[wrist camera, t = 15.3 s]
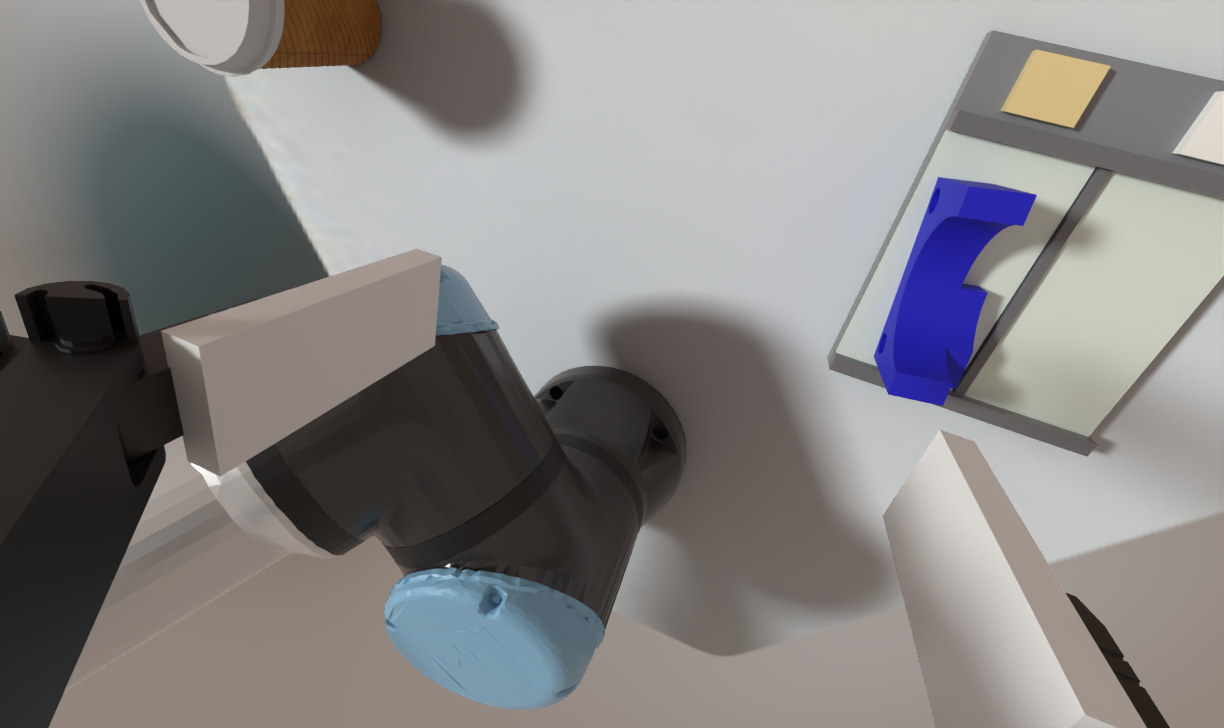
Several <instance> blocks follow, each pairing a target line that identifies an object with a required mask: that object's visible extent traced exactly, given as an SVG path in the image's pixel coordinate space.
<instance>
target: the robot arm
mask: <svg viewBox="0 0 1224 728" xmlns="http://www.w3.org/2000/svg"><path fill="white" fill-rule="evenodd" d="M441 260H442V257H440V256H437V255H434V254H431V253H428V252H425V251H422V250H419V249H415V250H412V251H409V252H406V253H403V254H399V255H396V256H393V257H390V258H387V259H384V260H381V261H378V262H375V263H371V264H368V265H365V266H362V267H359V268H356V269H353V270H350V271H346V272H343V273H340V274H337V275H334V276H331V277H328V278H325V279H321V280H318V281H315V282H312V283H309V284H306V285H303V286H300V287H297V288H293V289H290V290H287V291H284V292H281V293H278V294H275V295H272V296H268V297H265V298H260V299H254V300H251V301H247V302H244V303H241V304H238V305H235V306H232V307H231V309H228V308H226V309H222V310H219V311H216V312H213V313H212V314H211V315H203V316H200V317H197V318H194V319H191V320H188V321H184V322H181V323H178V324H175V325H172V326H169V327H165V328H162V329H159V330H156V331H153V332H150V333H146V334H143V335H140V336H139V333H138V329H137V325H136V320H135V316H134V311H133V307H132V302H131V298H130V294H129V293H128V292H127V291H126V290H125V289H124V288H122V287H119V286H116V285H113V284H110V283H103V282H94V281H65V282H56V283H48V284H43V285H39V286H35V287H31V288H27V289H25V290H23V291H21V292H19V293H17V294H16V295H15V298H16V301H17V304H18V307H19V310H20V313H21V316H22V319H23V322H24V324H25V328H26V330H27V333H28V336H29V338H25V337H19V336H13V335H9V332H8V329H7V327H6V324H5V321H4V318H3V316H2V313H1V311H0V728H48V727H49V725H50V723H51V720H52V718H53V715H54V713H55V711H56V709H57V707H58V704H59V702H60V700H61V698H62V695H63V693H64V692H65V691H67V690H68V689H70V688H72V687H73V686H75V685H77V684H78V683H80V682H82V681H83V680H85V679H86V678H88V677H90V676H91V675H93V674H95V673H96V672H98V671H100V670H101V669H103V668H104V667H106V666H108V665H109V664H111V663H112V662H114V661H116V660H118V659H119V658H121V657H122V656H124V655H126V654H127V653H129V652H131V651H132V650H134V649H135V648H137V647H138V646H140V645H142V644H144V643H145V642H147V641H148V640H150V639H152V638H153V637H155V636H156V635H158V634H160V633H162V632H163V631H165V630H166V629H168V628H169V627H171V626H173V625H174V624H176V623H178V622H179V621H181V620H182V619H184V618H186V617H188V616H189V615H191V614H193V613H194V612H196V611H197V610H199V609H201V608H202V607H204V606H206V605H207V604H209V603H210V602H212V601H214V600H215V599H217V598H219V597H220V596H222V595H223V594H225V593H227V592H228V591H230V590H232V589H233V588H235V587H237V586H238V585H240V584H241V583H243V582H245V581H246V580H248V579H250V578H251V577H252V576H254V575H256V574H258V573H259V572H261V571H262V570H264V569H266V568H268V567H269V566H271V565H272V564H274V563H276V562H277V561H279V560H281V559H282V558H284V557H285V556H287V555H289V554H304V555H309V556H315V557H321V558H327V559H334V558H337V557H339V556H341V555H343V554H345V553H346V552H348V551H349V550H351V549H352V548H354V547H356V546H357V545H359V544H361V543H362V542H364V541H365V540H367V539H369V538H370V537H372V536H376V537H377V538H378V539H379V540H380V541H381V542H382V544H383V545H384V546H385V547H386V549H387V550H388V552H389V553H390V555H391V556H392V558H393V559H394V560H395V562H396V564H397V565H398V566H399V568H400V570H401V571H402V573H403V576H404V578H402V579H400V580H399V581H398V582H397V583H396V584H395V585H394V586H393V587H392V590H391V591H390V597H389V599H388V600H387V603H386V605H385V608H384V616H385V618H386V619H385V628H386V631H387V633H388V635H389V638H390V639H391V641H392V643H393V644H394V646H395V647H396V649H397V650H398V651H399V652H400V653H401V655H402V656H403V657H404V658H405V659H406V660H407V661H408V662H409V663H410V664H412V665H413V666H414V667H415V668H416V669H417V670H418V671H420V672H421V673H422V674H424V675H425V676H426V677H428V678H430V679H431V680H433V681H434V682H436V683H437V684H439V685H441V686H443V687H444V688H446V689H448V690H450V691H452V692H454V693H456V694H458V695H461V696H464V697H467V698H468V699H471V700H473V701H476V702H479V703H483V704H486V705H490V706H495V707H500V708H507V709H518V710H526V709H536V708H543V707H546V706H550V705H552V704H555V703H557V702H559V701H561V700H563V699H564V698H566V697H567V696H568V695H570V694H571V693H572V692H573V691H574V690H575V689H576V687H577V685H579V684H580V682H581V680H582V678H583V676H584V674H585V672H586V670H587V667H588V665H589V663H590V661H591V658H592V656H593V654H594V651H595V649H596V648H597V647H598V646H599V644H600V643H601V642H602V641H603V638H604V634H605V628H606V625H607V622H608V619H609V617H610V614H611V611H612V608H613V605H614V602H615V599H616V596H617V593H618V591H619V588H620V585H621V582H622V579H623V576H624V573H625V570H626V567H627V565H628V562H629V559H630V556H631V553H632V550H633V547H634V544H635V541H636V538H637V535H638V532H639V530H640V528H641V527H642V526H643V525H644V524H645V523H646V522H647V521H648V520H649V519H650V518H651V517H652V516H653V515H654V514H655V513H656V512H657V511H658V510H660V509H661V508H662V507H663V506H664V505H665V504H666V503H667V501H668V500H669V499H670V498H671V496H672V495H673V493H674V491H675V490H676V488H677V486H678V483H679V480H680V477H681V474H682V471H683V468H684V464H685V458H686V442H685V437H684V432H683V429H682V426H681V424H680V421H679V419H678V417H677V416H676V414H675V412H674V410H673V409H672V408H671V406H670V405H669V404H668V402H667V401H666V400H665V399H664V398H663V397H662V396H661V395H660V394H659V393H658V392H657V391H656V390H655V389H654V388H653V387H651V386H650V385H649V384H647V383H646V382H644V381H643V380H641V379H639V378H637V377H635V376H633V375H631V374H629V373H626V372H624V371H621V370H618V369H614V368H609V367H602V366H584V367H577V368H573V369H570V370H567V371H564V372H562V373H560V374H558V375H557V376H555V377H554V378H552V379H551V380H550V381H548V382H547V383H546V384H545V385H544V386H543V387H542V388H541V389H540V391H539V392H538V393H537V394H536V395H535V396H534V397H533V395H532V393H531V391H530V390H529V388H528V386H527V384H526V383H525V381H524V379H523V377H522V375H521V374H520V372H519V370H518V368H517V367H516V365H515V363H514V361H513V359H512V358H511V356H510V354H509V352H508V350H507V348H506V347H505V345H504V343H503V341H502V339H501V337H500V336H499V334H498V332H497V330H496V329H499V326H498V324H497V322H495V321H493V320H491V318H490V317H489V315H488V314H487V312H486V310H485V309H484V307H483V306H482V304H481V302H480V301H479V299H478V298H477V296H476V295H475V293H474V291H473V290H472V288H471V287H470V285H469V283H468V282H467V280H466V279H465V278H464V277H463V276H462V275H461V274H460V273H459V272H457V271H456V270H454V269H453V268H450V267H448V266H445V265H441ZM883 518H884V522H885V526H886V530H887V534H888V538H889V542H890V546H891V550H892V554H893V558H894V562H895V566H896V570H897V574H898V578H899V582H900V586H901V590H902V594H903V598H904V602H905V606H906V610H907V613H908V618H909V622H910V626H911V630H912V634H913V638H914V642H915V646H916V650H917V654H918V658H919V662H920V665H921V670H922V674H923V678H924V682H925V686H926V689H927V694H928V698H929V702H930V706H931V710H932V714H933V718H934V722H935V726H936V728H1170V727H1169V726H1168V724H1167V723H1166V721H1165V719H1164V718H1163V716H1162V715H1161V713H1160V712H1159V710H1158V708H1157V707H1156V705H1155V704H1154V702H1153V701H1152V699H1151V697H1150V696H1149V694H1148V693H1147V691H1146V690H1145V689H1144V688H1143V687H1140V686H1139V682H1140V680H1139V679H1138V678H1137V676H1136V674H1135V673H1134V671H1133V669H1132V668H1131V666H1130V665H1129V663H1128V662H1126V661H1123V657H1124V656H1123V654H1122V652H1121V651H1120V649H1119V648H1118V646H1117V644H1116V643H1115V641H1114V640H1113V638H1112V637H1111V635H1110V634H1109V632H1108V631H1107V629H1106V627H1105V626H1104V625H1103V624H1102V623H1101V622H1100V621H1099V620H1098V619H1097V618H1096V617H1095V616H1094V615H1093V614H1092V613H1091V612H1090V611H1089V609H1088V608H1087V607H1086V606H1085V605H1084V604H1082V602H1081V601H1080V600H1079V599H1078V598H1077V597H1075V596H1073V595H1070V594H1068V593H1065V591H1064V590H1063V588H1062V586H1061V585H1060V583H1059V581H1058V580H1057V578H1056V576H1055V575H1054V573H1053V571H1052V570H1051V568H1050V566H1049V565H1048V563H1047V561H1046V560H1045V558H1044V556H1043V555H1042V553H1041V551H1040V550H1039V548H1038V546H1037V545H1036V543H1035V541H1034V540H1033V538H1032V536H1031V535H1030V533H1029V531H1028V530H1027V528H1026V526H1025V525H1024V523H1023V521H1022V520H1021V518H1020V516H1019V515H1018V513H1017V512H1016V510H1015V508H1014V507H1013V505H1012V503H1011V502H1010V500H1009V498H1008V497H1007V495H1006V493H1005V492H1004V490H1003V488H1002V487H1001V485H1000V483H999V482H998V480H997V478H996V477H995V475H994V473H993V472H992V470H991V468H990V467H989V465H988V463H987V462H986V460H985V458H984V457H983V455H982V453H981V452H980V450H979V448H978V447H977V445H976V444H975V442H974V441H971V440H968V439H965V438H962V437H960V436H957V435H954V434H951V433H948V432H945V431H942V430H939V431H938V433H937V434H936V436H935V438H934V439H933V441H932V442H931V444H930V445H929V447H928V448H927V450H926V451H925V453H924V454H923V456H922V457H921V459H920V460H919V462H918V463H917V465H916V466H915V468H914V469H913V471H912V472H911V474H910V475H909V477H908V478H907V480H906V481H905V483H904V484H903V486H902V487H901V489H900V490H899V492H898V494H897V495H896V497H895V498H894V500H893V501H892V503H891V504H890V506H889V507H888V509H887V510H886V512H885V513H884V515H883Z"/></svg>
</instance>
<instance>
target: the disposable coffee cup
mask: <svg viewBox="0 0 1224 728" xmlns="http://www.w3.org/2000/svg"><path fill="white" fill-rule="evenodd" d="M140 2H141V4H142V6H143V8H144V10H145V12H146V14H147V16H148V18H149V20H150V21H151V23H152V24H153V25H154V27H155V28H156V30H157V31H158V33H159V34H160V35H161V37H162V38H163V39H164V40H165V41H166V42H167V43H168V44H169V45H170V46H171V47H172V48H173V49H174V50H176V51H177V52H178V53H179V54H181V55H182V56H184V57H186V58H187V59H189V60H191V61H194V62H197V63H198V64H199V65H201V66H203V67H204V68H206V69H208V70H210V71H212V72H214V73H217V74H219V75H225V76H241V75H246V74H250V73H251V72H253V71H255V70H257V69H261V68H263V69H267V68H271V69H272V68H285V67H286V68H290V67H313V66H314V67H319V66H338V65H339V66H341V65H359V64H362V63H365V62H366V61H367V60H369V59H370V58H371V56H372V55H373V54H374V52H375V51H376V49H377V46H378V44H379V40H380V34H381V17H380V12H379V7H378V4H377V1H376V0H140Z"/></svg>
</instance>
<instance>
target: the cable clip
mask: <svg viewBox="0 0 1224 728" xmlns="http://www.w3.org/2000/svg"><path fill="white" fill-rule="evenodd" d="M1036 196H1037V195H1035V194H1032V193H1028V192H1024V191H1020V190H1016V189H1012V188H1008V187H1004V186H1000V185H996V184H991V183H983V182H975V181H967V180H959V179H951V178H942V177H938V179H937V182H936V185H935V187H934V190H933V193H932V196H931V198H930V201H929V204H928V207H927V210H926V212H925V215H924V218H923V221H922V223H921V226H920V229H919V232H918V234H917V237H916V240H915V243H914V246H913V248H912V251H911V254H910V257H909V259H908V262H907V265H906V268H905V271H904V273H903V276H902V279H901V282H900V284H899V287H898V290H897V293H896V295H895V298H894V301H893V304H892V307H891V309H890V312H889V315H888V318H887V320H886V323H885V326H884V329H883V332H882V334H881V337H880V340H879V343H878V345H877V348H876V351H875V354H874V359H875V361H876V364H877V367H878V369H879V372H880V374H881V377H882V379H883V382H884V385H885V387H886V390H887V392H888V394H889V395H894V396H899V397H903V398H908V399H913V400H917V401H922V402H926V403H931V404H936V405H940V406H943V404H944V402H945V400H946V398H947V395H948V393H949V391H950V389H957V386H958V384H959V382H960V380H961V377H962V375H963V373H964V371H965V369H966V366H967V364H968V362H969V360H970V358H971V355H972V353H973V347H974V338H975V332H976V327H977V323H978V319H979V316H980V312H981V309H982V306H983V304H984V301H985V299H986V296H987V294H988V292H986V291H985V290H984V289H983V288H981V287H980V286H975V285H969V284H963V282H964V280H965V278H966V276H967V274H968V272H969V270H970V268H971V266H972V265H973V263H974V261H975V260H976V258H977V257H978V255H979V254H980V252H981V251H982V250H983V248H984V247H985V246H986V245H987V243H988V242H989V241H990V240H991V239H992V238H993V237H994V236H995V235H996V234H998V233H999V232H1000V231H1002V230H1003V229H1005V228H1007V227H1009V226H1013V225H1019V226H1023V225H1024V223H1025V221H1026V219H1027V216H1028V214H1029V212H1030V210H1031V208H1032V205H1033V203H1034V201H1035V199H1036Z"/></svg>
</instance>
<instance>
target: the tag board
mask: <svg viewBox="0 0 1224 728" xmlns="http://www.w3.org/2000/svg"><path fill="white" fill-rule="evenodd" d="M938 177H942V178H951V179H959V180H967V181H975V182H983V183H991V184H996V185H1000V186H1004V187H1008V188H1012V189H1016V190H1020V191H1024V192H1028V193H1032V194H1035V195H1037V196H1036V199H1035V201H1034V203H1033V205H1032V208H1031V210H1030V212H1029V214H1028V216H1027V219H1026V221H1025V223H1024V225H1023V226H1019V225H1013V226H1009V227H1007V228H1005V229H1003V230H1002V231H1000V232H999V233H998V234H996V235H995V236H994V237H993V238H992V239H991V240H990V241H989V242H988V243H987V245H986V246H985V247H984V248H983V250H982V251H981V252H980V254H979V255H978V257H977V258H976V260H975V261H974V263H973V265H972V266H971V268H970V270H969V272H968V274H967V276H966V278H965V280H964V282H963V284H969V285H975V286H980V287H981V288H983V289H984V290H985V291H986V292H988V294H987V296H986V299H985V301H984V304H983V306H982V309H981V312H980V316H979V319H978V323H977V327H976V332H975V338H974V347H973V353H972V355H971V358H970V360H969V362H968V364H967V366H966V369H965V371H964V373H963V375H962V377H961V380H960V382H959V384H958V386H957V389H950V391H949V393H948V395H947V398H946V400H945V402H944V404H943V406H940V405H937V406H940V407H943V408H945V409H948V410H951V411H954V412H957V413H960V414H963V415H966V416H969V417H972V418H975V419H978V420H981V421H984V422H987V423H990V424H993V425H996V426H999V427H1002V428H1004V429H1007V430H1010V431H1013V432H1016V433H1019V434H1022V435H1025V436H1028V437H1031V438H1034V439H1037V440H1040V441H1043V442H1046V443H1049V444H1052V445H1055V446H1058V447H1061V448H1063V449H1066V450H1069V451H1072V452H1075V453H1078V454H1081V455H1084V456H1088V455H1089V454H1090V453H1091V451H1092V450H1093V449H1094V448H1095V447H1096V446H1097V444H1096V443H1095V442H1094V441H1093V440H1092V439H1091V438H1090V437H1089V436H1090V435H1091V433H1092V432H1093V431H1094V430H1095V429H1096V427H1097V426H1098V425H1099V424H1100V423H1101V421H1102V420H1103V419H1104V418H1105V417H1106V415H1107V414H1108V413H1109V412H1110V411H1111V410H1112V408H1113V407H1114V406H1115V405H1116V404H1117V402H1118V401H1119V400H1120V399H1121V398H1122V396H1123V395H1124V394H1125V393H1126V392H1127V390H1128V389H1129V388H1130V387H1131V386H1132V384H1133V383H1134V382H1135V381H1136V380H1137V378H1138V377H1139V376H1140V375H1141V374H1142V372H1143V371H1144V370H1145V369H1146V368H1147V367H1148V365H1149V364H1150V363H1151V362H1152V361H1153V359H1154V358H1155V357H1156V356H1157V355H1158V353H1159V352H1160V351H1161V350H1162V349H1163V347H1164V346H1165V345H1166V344H1167V343H1168V341H1169V340H1170V339H1171V338H1172V337H1173V335H1174V334H1175V333H1176V332H1177V331H1178V329H1179V328H1180V327H1181V326H1182V325H1183V324H1184V322H1185V321H1186V320H1187V319H1188V318H1189V316H1190V315H1191V314H1192V313H1193V312H1194V310H1195V309H1196V308H1197V307H1198V306H1199V304H1200V303H1201V302H1202V301H1203V300H1204V298H1205V297H1206V296H1207V295H1208V294H1209V292H1210V291H1211V290H1212V289H1213V288H1214V286H1215V285H1216V284H1217V283H1218V282H1219V281H1220V279H1221V278H1222V277H1223V276H1224V81H1220V80H1216V79H1211V78H1207V77H1202V76H1198V75H1193V74H1189V73H1184V72H1179V71H1175V70H1170V69H1166V68H1161V67H1157V66H1152V65H1148V64H1143V63H1138V62H1134V61H1129V60H1125V59H1120V58H1116V57H1111V56H1107V55H1102V54H1098V53H1093V52H1088V51H1084V50H1079V49H1075V48H1070V47H1066V46H1061V45H1057V44H1052V43H1048V42H1043V41H1038V40H1034V39H1029V38H1025V37H1020V36H1016V35H1011V34H1007V33H1002V32H998V31H991V32H989V33H987V34H986V36H985V38H984V40H983V42H982V44H981V46H980V48H979V50H978V52H977V54H976V56H975V58H974V60H973V62H972V65H971V67H970V69H969V71H968V73H967V75H966V77H965V79H964V81H963V83H962V85H961V87H960V89H959V91H958V93H957V95H956V97H955V99H954V101H953V103H952V105H951V107H950V109H949V111H948V113H947V115H946V117H945V119H944V121H943V123H942V125H941V128H940V130H939V132H938V134H937V136H936V138H935V140H934V142H933V144H932V146H931V148H930V150H929V152H928V154H927V156H926V158H925V160H924V162H923V164H922V166H921V168H920V170H919V172H918V174H917V176H916V178H915V180H914V182H913V184H912V186H911V189H910V191H909V193H908V195H907V197H906V199H905V201H904V203H903V205H902V207H901V209H900V211H899V213H898V215H897V217H896V219H895V221H894V223H893V225H892V227H891V229H890V231H889V233H888V235H887V237H886V239H885V241H884V243H883V245H882V247H881V250H880V252H879V254H878V256H877V258H876V260H875V262H874V264H873V266H872V268H871V270H870V272H869V274H868V276H867V278H866V280H865V282H864V284H863V286H862V288H861V290H860V292H859V294H858V296H857V298H856V300H855V302H854V304H853V306H852V308H851V310H850V313H849V315H848V317H847V319H846V321H845V323H844V325H843V327H842V329H841V331H840V333H839V335H838V337H837V339H836V341H835V343H834V345H833V347H832V349H831V351H830V353H829V355H828V357H827V358H828V363H829V369H830V370H833V371H836V372H839V373H842V374H845V375H848V376H851V377H854V378H857V379H860V380H863V381H866V382H869V383H872V384H875V385H878V386H881V387H884V388H886V387H885V385H884V382H883V379H882V377H881V374H880V372H879V369H878V367H877V364H876V361H875V359H874V354H875V351H876V348H877V345H878V343H879V340H880V337H881V334H882V332H883V329H884V326H885V323H886V320H887V318H888V315H889V312H890V309H891V307H892V304H893V301H894V298H895V295H896V293H897V290H898V287H899V284H900V282H901V279H902V276H903V273H904V271H905V268H906V265H907V262H908V259H909V257H910V254H911V251H912V248H913V246H914V243H915V240H916V237H917V234H918V232H919V229H920V226H921V223H922V221H923V218H924V215H925V212H926V210H927V207H928V204H929V201H930V198H931V196H932V193H933V190H934V187H935V185H936V182H937V179H938ZM934 405H936V404H934Z"/></svg>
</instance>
